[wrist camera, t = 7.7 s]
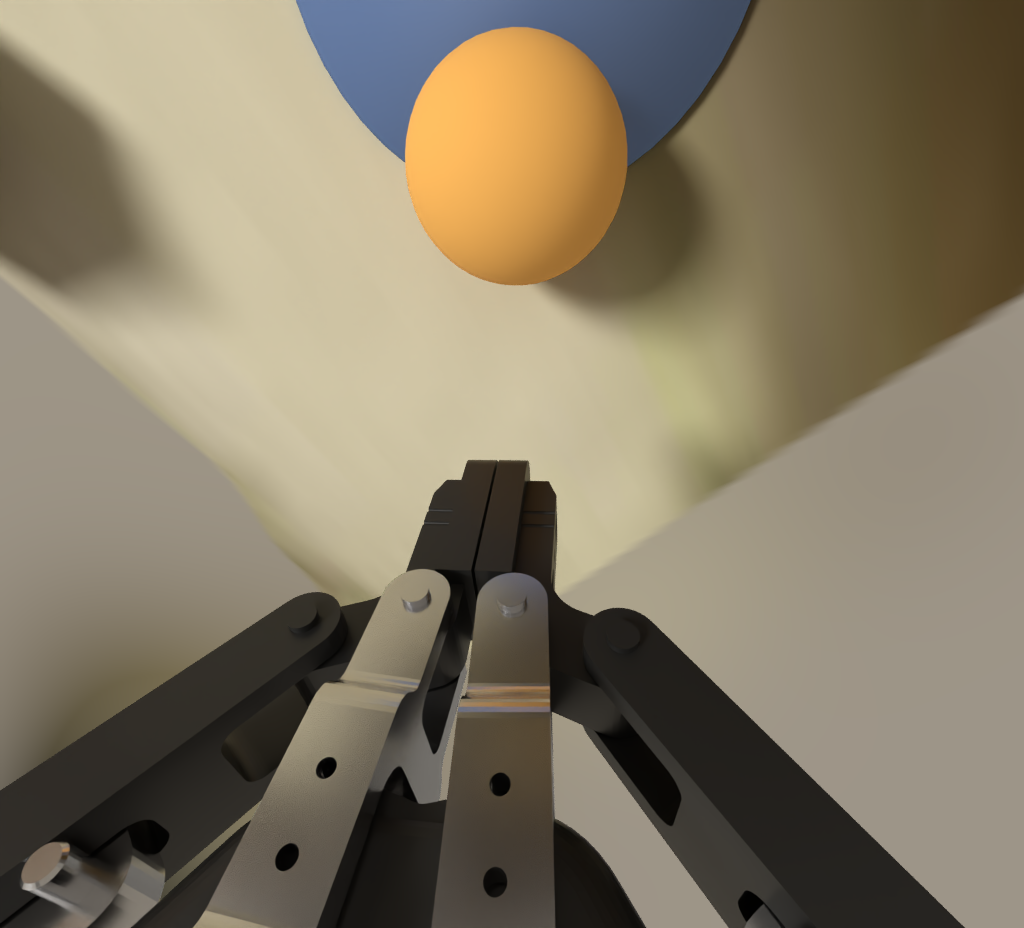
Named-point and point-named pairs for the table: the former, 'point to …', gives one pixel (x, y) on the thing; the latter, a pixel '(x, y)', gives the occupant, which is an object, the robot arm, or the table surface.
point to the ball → (516, 156)
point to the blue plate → (535, 4)
